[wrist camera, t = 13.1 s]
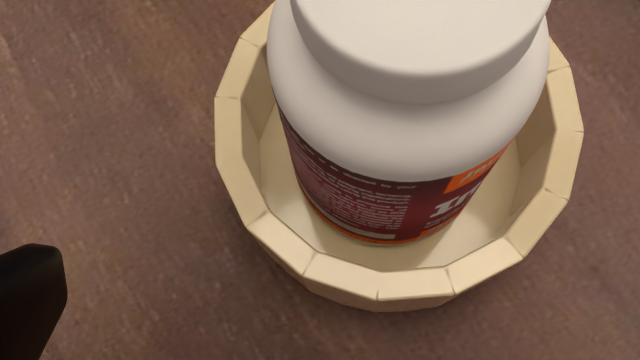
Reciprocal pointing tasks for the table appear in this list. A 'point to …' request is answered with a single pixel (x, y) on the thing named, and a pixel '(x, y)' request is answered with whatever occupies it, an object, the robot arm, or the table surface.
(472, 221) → the shallow bowl
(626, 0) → the table surface
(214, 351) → the table surface
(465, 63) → the pill bottle
